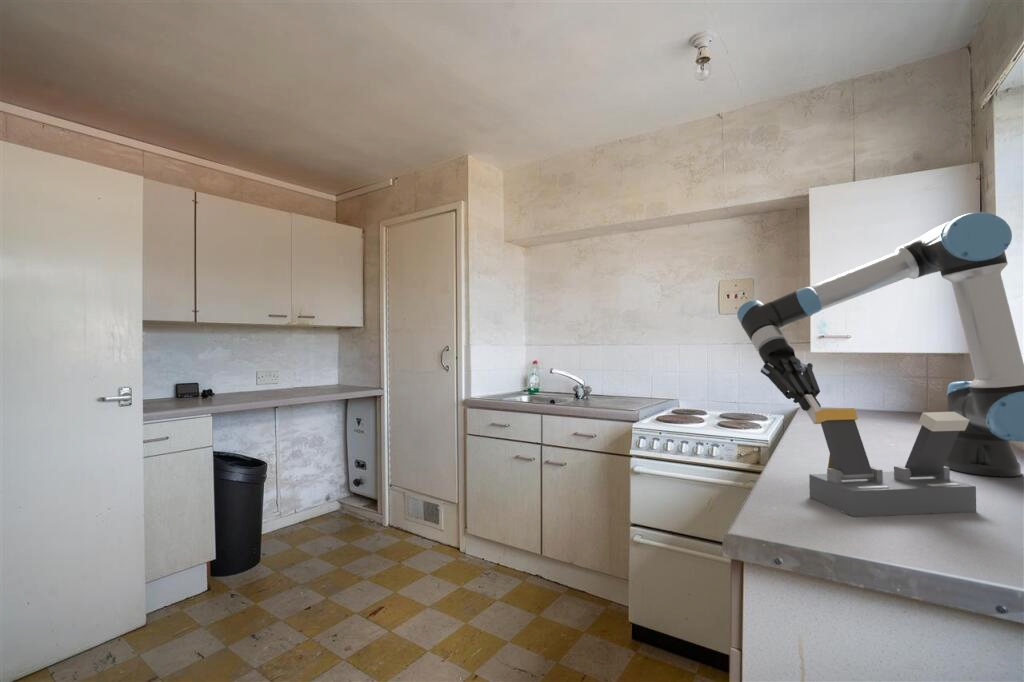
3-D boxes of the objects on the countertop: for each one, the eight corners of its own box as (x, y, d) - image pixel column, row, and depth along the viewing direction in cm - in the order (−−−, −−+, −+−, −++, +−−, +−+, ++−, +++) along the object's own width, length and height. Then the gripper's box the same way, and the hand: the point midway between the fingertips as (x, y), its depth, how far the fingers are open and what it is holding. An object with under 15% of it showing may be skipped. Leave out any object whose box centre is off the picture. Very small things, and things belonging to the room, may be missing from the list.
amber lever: (834, 481, 99) (814, 412, 105) (866, 479, 100) (843, 412, 106) (845, 479, 96) (823, 408, 102) (877, 477, 97) (854, 408, 103)
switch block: (919, 492, 106) (919, 459, 106) (976, 511, 94) (975, 473, 94) (809, 497, 104) (809, 462, 104) (853, 516, 92) (852, 478, 92)
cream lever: (898, 471, 101) (922, 412, 96) (928, 470, 102) (954, 411, 96) (911, 481, 98) (936, 420, 93) (942, 480, 99) (969, 420, 93)
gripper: (789, 356, 128) (838, 429, 111) (743, 357, 127) (785, 430, 110) (803, 336, 123) (856, 409, 106) (755, 337, 122) (800, 411, 105)
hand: (820, 420), depth 108 cm, fingers closed
